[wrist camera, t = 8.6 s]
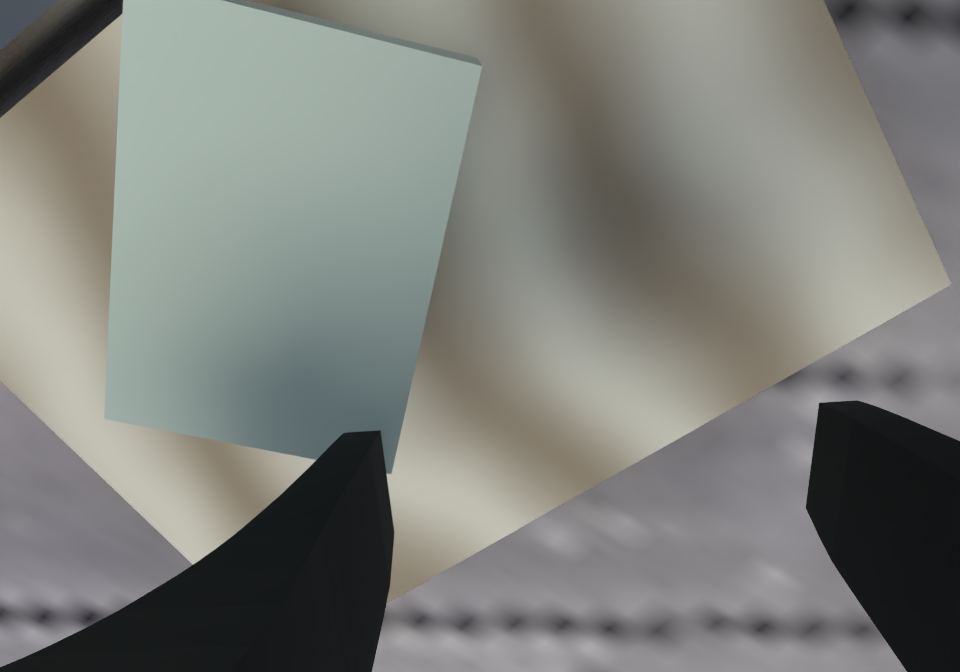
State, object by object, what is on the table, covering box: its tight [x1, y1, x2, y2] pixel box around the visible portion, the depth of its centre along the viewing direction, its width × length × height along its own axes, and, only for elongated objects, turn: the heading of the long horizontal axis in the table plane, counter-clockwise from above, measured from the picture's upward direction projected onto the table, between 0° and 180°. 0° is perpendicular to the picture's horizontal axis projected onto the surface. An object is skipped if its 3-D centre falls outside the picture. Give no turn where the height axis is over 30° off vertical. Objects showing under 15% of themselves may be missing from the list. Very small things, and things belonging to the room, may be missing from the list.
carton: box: [104, 0, 482, 474], centre depth 15 cm, size 5×7×8 cm
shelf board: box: [0, 0, 952, 603], centre depth 20 cm, size 24×18×2 cm
